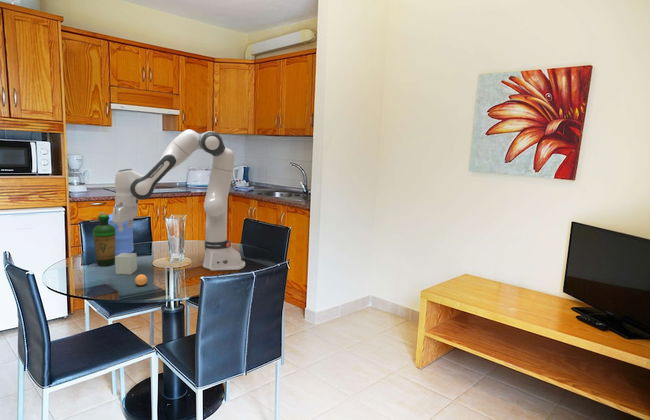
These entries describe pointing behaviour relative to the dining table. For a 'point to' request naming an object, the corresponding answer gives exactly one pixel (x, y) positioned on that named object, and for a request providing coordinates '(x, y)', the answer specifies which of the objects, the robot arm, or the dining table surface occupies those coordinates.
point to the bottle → (104, 241)
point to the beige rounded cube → (126, 263)
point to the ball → (141, 279)
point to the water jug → (122, 237)
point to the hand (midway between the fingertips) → (125, 229)
